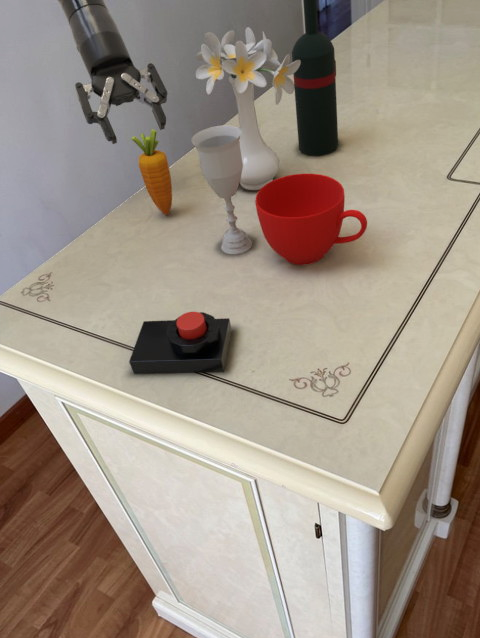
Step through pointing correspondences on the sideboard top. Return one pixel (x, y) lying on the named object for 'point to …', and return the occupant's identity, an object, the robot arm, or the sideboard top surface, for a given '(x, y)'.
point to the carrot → (155, 172)
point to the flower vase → (248, 94)
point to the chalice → (223, 176)
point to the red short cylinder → (191, 325)
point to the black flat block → (181, 348)
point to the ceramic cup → (304, 216)
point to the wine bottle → (315, 88)
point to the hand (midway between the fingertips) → (139, 134)
